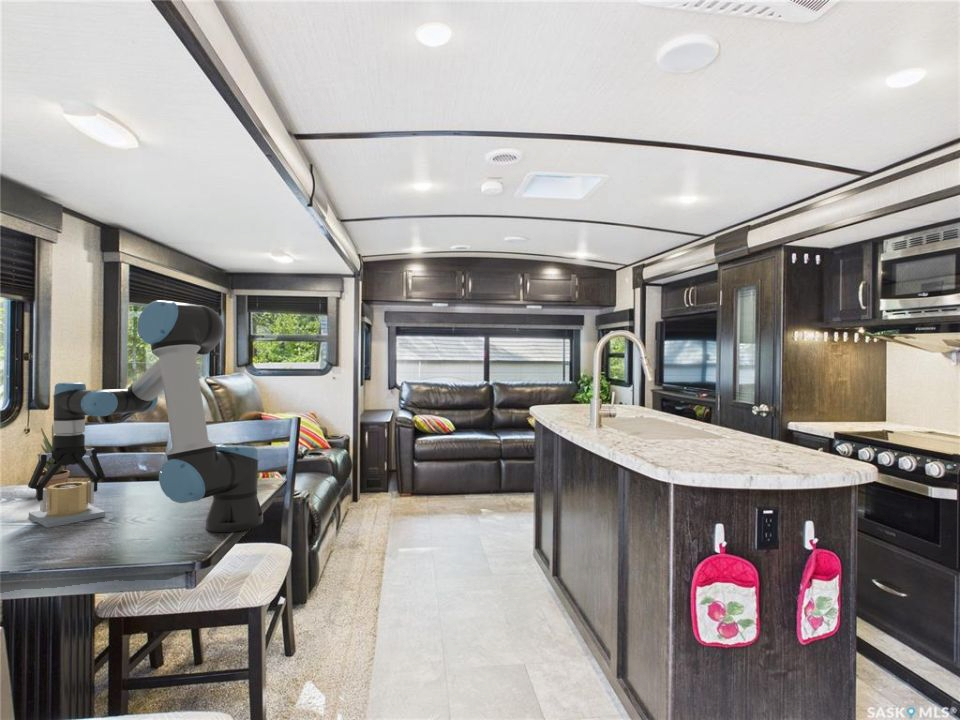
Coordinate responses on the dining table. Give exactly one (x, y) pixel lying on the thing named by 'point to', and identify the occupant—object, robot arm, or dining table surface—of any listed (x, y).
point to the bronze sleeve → (67, 499)
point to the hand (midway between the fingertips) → (67, 507)
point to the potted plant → (60, 474)
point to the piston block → (56, 521)
